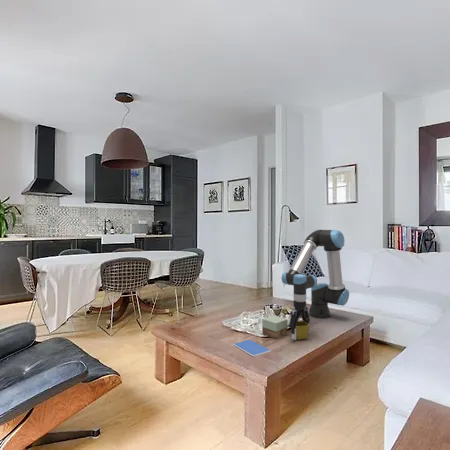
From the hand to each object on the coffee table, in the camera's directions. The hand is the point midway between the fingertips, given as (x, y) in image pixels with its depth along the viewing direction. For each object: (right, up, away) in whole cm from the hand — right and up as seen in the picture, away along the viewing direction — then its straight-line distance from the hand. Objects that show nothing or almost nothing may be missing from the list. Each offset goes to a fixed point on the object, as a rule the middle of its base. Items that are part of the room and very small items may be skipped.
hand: (299, 336), depth 196 cm
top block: (-14, +4, +7) cm, 16 cm away
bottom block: (-14, -1, +7) cm, 16 cm away
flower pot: (0, -1, 0) cm, 1 cm away
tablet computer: (-30, -3, -14) cm, 33 cm away
